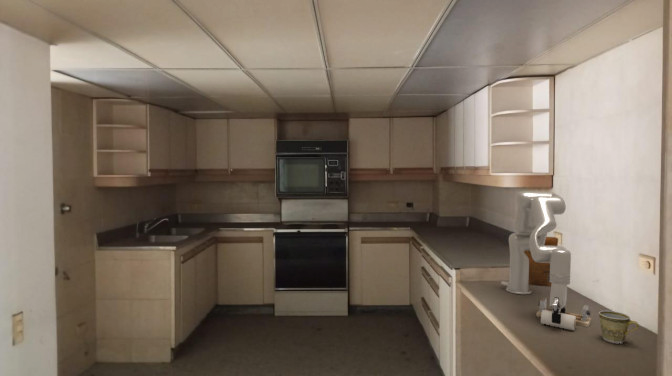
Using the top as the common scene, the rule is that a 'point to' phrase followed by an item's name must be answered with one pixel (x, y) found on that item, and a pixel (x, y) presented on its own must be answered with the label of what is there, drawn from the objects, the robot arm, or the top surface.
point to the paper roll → (566, 320)
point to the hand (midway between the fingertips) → (558, 320)
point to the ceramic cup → (615, 326)
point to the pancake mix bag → (540, 267)
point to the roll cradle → (580, 319)
